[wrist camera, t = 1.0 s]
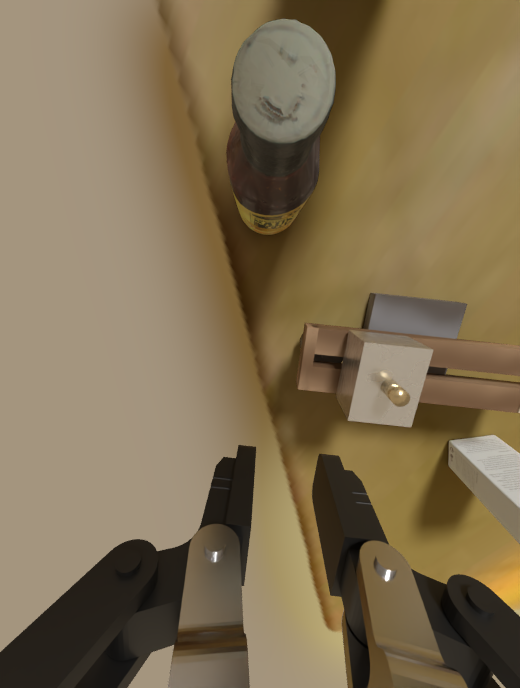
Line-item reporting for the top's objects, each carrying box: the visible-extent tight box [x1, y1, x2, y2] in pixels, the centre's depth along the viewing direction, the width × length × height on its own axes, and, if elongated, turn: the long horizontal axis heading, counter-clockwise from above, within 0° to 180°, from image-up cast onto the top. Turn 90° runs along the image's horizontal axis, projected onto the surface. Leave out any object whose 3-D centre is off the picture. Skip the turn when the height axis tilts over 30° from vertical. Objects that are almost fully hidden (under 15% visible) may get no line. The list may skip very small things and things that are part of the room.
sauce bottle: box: [226, 19, 336, 235], centre depth 20 cm, size 6×6×20 cm
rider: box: [336, 330, 433, 427], centre depth 23 cm, size 6×5×8 cm
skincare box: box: [448, 435, 520, 544], centre depth 31 cm, size 6×4×12 cm
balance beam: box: [296, 293, 520, 413], centre depth 29 cm, size 12×26×9 cm, turn 84°
